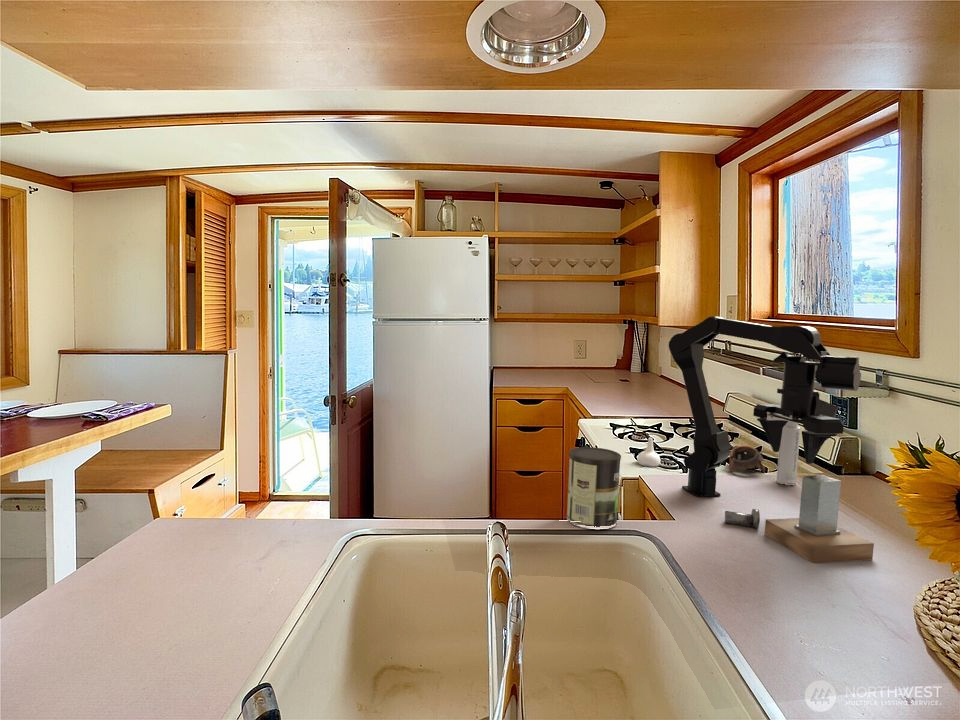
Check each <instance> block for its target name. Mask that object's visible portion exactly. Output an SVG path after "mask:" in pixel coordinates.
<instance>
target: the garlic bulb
mask: <svg viewBox="0 0 960 720" xmlns="http://www.w3.org/2000/svg"><path fill="white" fill-rule="evenodd" d="M636 460H637V463H638V464H639V465H641V466H644V467H649V468H650V467H651V468H655V466H656V467H658V466H659V465H660V464H661V457H660V456H659V454H658V453H657V452H656V451H655V450H654V442H653V438H652V437H648V439H647V446H646V448H645V450H643V451H641V452H640V453H639V454H638V455H637V459H636Z"/></svg>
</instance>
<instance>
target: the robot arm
mask: <svg viewBox="0 0 960 720" xmlns="http://www.w3.org/2000/svg"><path fill="white" fill-rule="evenodd" d="M719 335H724V336H729V337H733V338H738V339H739V338H740V339H744V340H745V339H746V340H751V341H756V342H761V343H766V344H769V345H771V346H773V347H776V348H778V349H780V350H783V351H782V352H781V353H780V354H779V356H778V355H777V357H775V358H773V359H772V361H773V362H774V363H777V364H778V363H780V364H781V363H782V364H783V372H782V373H783V375H782V386H781V387H778V388H777V390H776V393H777V394H780V395H781V397H780V400H781V401H780V404H776V403H757V404H756V405H755V406H754V407H753V414H752V416H753V417H756V420H757V422H759V424H760V426H761V428H762V430H763V431H764V433H765V436H766V438H767V440H768V443H769V444H770V447H771V449H772V452H774V453H779V449H780V444H781V437H782V429H783V427H784V426H785V425H786V424H787V422H788V420H789V421H793V422H796V423H798V424H800V425H802V426H803V428H804V430H801V437H802V438H801V439H802V446H803V453H804V458H805V463H806V464H808V465H811V464H813V463H814V461H815V458H816V457H817V456H818V454H819V452H820V450H821V449H822V447H823V445H824V444H825V442H826V441H827V440H829V439H830V438H831V437H837V436H838V435H839V434H841V435H842V434H844V427H845V423H844V422H843V421H842V420H841V418H835V416H836V414H837V412H838V409H839V406H837V405H834V404H832V403H829V402H827V401H825V400H822V399H820V393H819V391H816V390H815V381H816V383H817V384H819V385H821V388H822V389H823V388H824V389H832V390H839V391H848V392H849V391H850V392H857V391H858V390H859V387H860V385H861V379H862V372H861V367H860V358H859V356H832V355H831V353H830V352H829V351H828V350H827V348H826V347H825V346H824V345H823V343H822V336H821V333H820V332H819V331H818V329H817V328H815V327H812V326H808V325H807V326H804V325H790V326H789V325H776V326H775V325H767V324H760V323H753V322H749V321H743V320H742V321H741V320H736V319H729V318H725V317H724V318H723V317H722V316H715V315H714V316H711V315H710V316H708V317H706V318H705V319H703V320H702V321H701V322H699V323H698V324H696V325H694V326H692V327H690V328H688V329H686V330H684V331H683V332H682V333H676V334H674V335H672V337H671V338H670V340H669V341H668V350H669V352H670V354H671V356H672V360H673V361H674V363H675V364H676V365H677V367H678V368H679V369H680V370H681V373H682V377H683V381H684V386H685V390H686V394H687V399H688V402H689V405H690V410H691V414H692V419H693V423H694V428H695V430H694V435H693V452H692V453H690V454H688V456H686V457H685V458H683V464H684V467H685V469H688V479H687V485H681V488H682V490H685V491H686V492H688V493H690V494H692V495H693V496H694V497H721V493H720V492H719V491H717V469H716V468H719V467H720V466H721V465H722V463H723V462H724V461H726V460H727V459H728V457H730V452H731V450H730V449H732V447H733V446H732V444H731V443H730V439H729V432H728V430H723V431H721V429H720V428H719V426H718V425H717V422H716V419H715V414H714V411H713V406H712V402H711V398H710V394H709V391H708V387H707V381H706V378H705V373H704V369H703V363H704V358H705V351H704V347H705V346H707V345H708V344H710V343H711V342H712V341H713V340H714V339H715V338H716V337H717V336H719ZM790 353H791V354H798V355H790ZM799 354H800V355H801V356H800V355H799ZM807 359H808V360H811V361H807ZM812 360H813V361H812ZM814 360H816V361H814ZM817 361H819V362H817ZM790 415H791V416H792V417H790ZM784 419H785V420H784Z"/></svg>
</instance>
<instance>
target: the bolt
mask: <svg viewBox="0 0 960 720" xmlns="http://www.w3.org/2000/svg"><path fill="white" fill-rule="evenodd" d="M760 514H761V513H760V510H759V509H758V508H752V509H751V512H750V513H742V512H738V511H737V512H736V511H731V510H725V511H724V523H726V524H731V525H737V526H745V527H749V528H750V527H751V528H756V529H758V528H759V527H760V518H761V515H760Z"/></svg>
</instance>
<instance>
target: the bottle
mask: <svg viewBox="0 0 960 720" xmlns="http://www.w3.org/2000/svg"><path fill="white" fill-rule="evenodd" d="M790 417H792V416H791V415H790ZM784 420H785V419H784ZM800 438H801V427H800V426H799V423H796V422H793V421H789V420H788V422H787V424H786V425H785V426H784V427H783V429H782V437H781V444H780V449H779V452H778V458H777V470H776V471H777V472H776V482H777V484H780V485H783V484H785V486H790V485H793V486H796V485H797V473H798V462H799V448H800V440H801V439H800ZM795 484H796V485H795Z"/></svg>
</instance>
